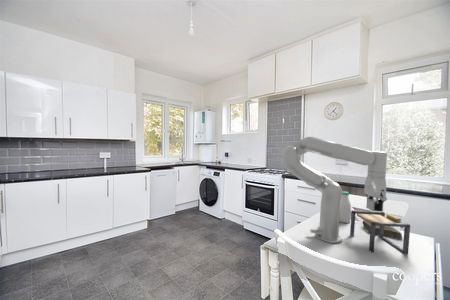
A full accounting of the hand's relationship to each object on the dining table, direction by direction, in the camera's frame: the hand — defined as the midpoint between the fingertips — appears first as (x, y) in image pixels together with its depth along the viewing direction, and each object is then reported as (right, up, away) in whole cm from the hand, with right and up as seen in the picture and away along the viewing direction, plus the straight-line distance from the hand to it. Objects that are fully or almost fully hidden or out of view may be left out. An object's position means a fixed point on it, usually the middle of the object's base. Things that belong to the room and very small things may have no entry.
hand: (374, 208), depth 103 cm
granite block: (0, -1, 0) cm, 1 cm away
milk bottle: (+2, -18, +31) cm, 36 cm away
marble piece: (+16, -19, +16) cm, 30 cm away
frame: (+2, -19, +1) cm, 19 cm away
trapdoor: (+3, -7, 0) cm, 7 cm away
